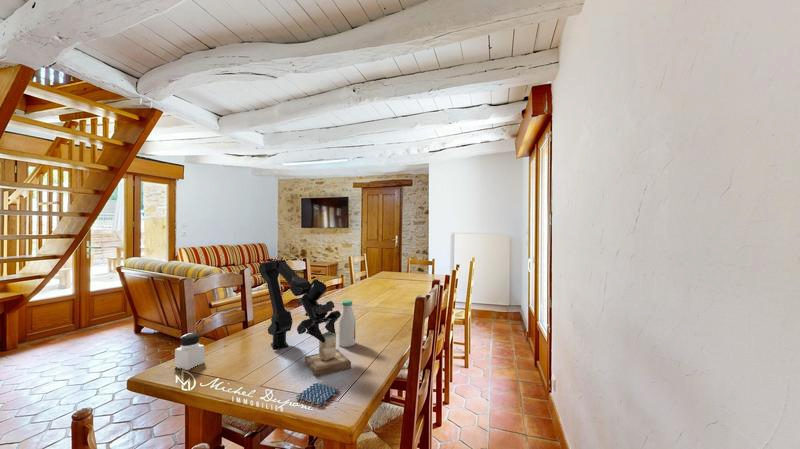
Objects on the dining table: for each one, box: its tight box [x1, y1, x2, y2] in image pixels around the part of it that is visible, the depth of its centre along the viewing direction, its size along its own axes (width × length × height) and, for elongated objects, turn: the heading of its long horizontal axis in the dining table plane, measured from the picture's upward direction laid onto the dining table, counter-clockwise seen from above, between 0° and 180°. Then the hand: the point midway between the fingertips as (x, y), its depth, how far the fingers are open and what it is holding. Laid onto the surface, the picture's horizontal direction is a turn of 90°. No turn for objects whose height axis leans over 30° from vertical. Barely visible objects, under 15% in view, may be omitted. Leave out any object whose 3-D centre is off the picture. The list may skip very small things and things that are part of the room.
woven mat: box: [295, 382, 341, 409], centre depth 104 cm, size 10×11×2 cm
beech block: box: [318, 331, 337, 360], centre depth 126 cm, size 4×5×9 cm
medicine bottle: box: [174, 332, 206, 371], centre depth 125 cm, size 7×7×12 cm
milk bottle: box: [337, 300, 356, 348], centre depth 147 cm, size 8×8×20 cm
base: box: [304, 348, 352, 378], centre depth 126 cm, size 14×14×3 cm
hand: (329, 339), depth 125 cm, fingers open, 5 cm apart
